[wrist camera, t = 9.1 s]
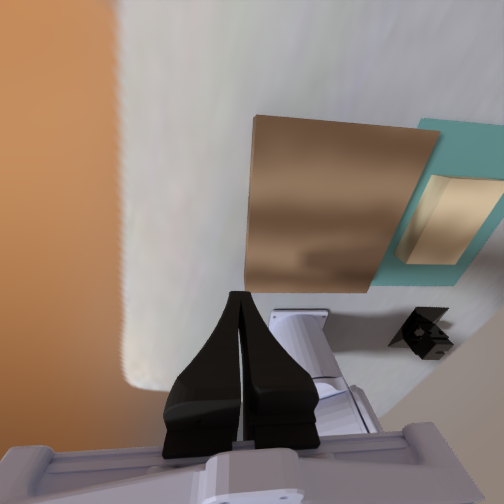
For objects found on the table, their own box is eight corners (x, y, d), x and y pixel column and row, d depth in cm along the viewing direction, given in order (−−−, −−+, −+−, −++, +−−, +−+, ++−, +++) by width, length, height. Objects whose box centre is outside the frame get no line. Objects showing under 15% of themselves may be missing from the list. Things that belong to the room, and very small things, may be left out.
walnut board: (353, 277, 26) (366, 293, 23) (244, 275, 24) (245, 292, 22) (410, 131, 18) (441, 130, 15) (253, 118, 16) (256, 114, 14)
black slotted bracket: (411, 349, 36) (433, 376, 32) (374, 348, 35) (392, 376, 31) (456, 298, 30) (490, 324, 26) (412, 296, 29) (440, 322, 25)
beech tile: (405, 263, 22) (393, 254, 24) (455, 264, 23) (439, 255, 24) (451, 178, 18) (431, 174, 19) (511, 181, 18) (487, 177, 20)
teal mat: (451, 284, 27) (453, 286, 27) (354, 283, 26) (356, 285, 26) (559, 131, 18) (566, 131, 18) (421, 118, 17) (425, 118, 17)
